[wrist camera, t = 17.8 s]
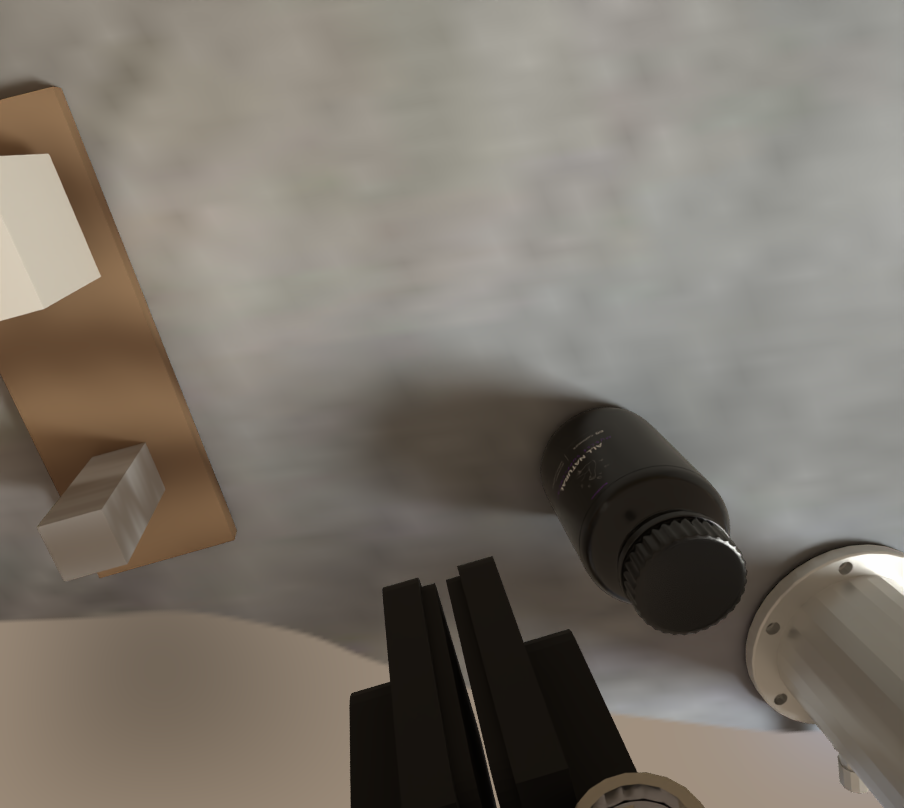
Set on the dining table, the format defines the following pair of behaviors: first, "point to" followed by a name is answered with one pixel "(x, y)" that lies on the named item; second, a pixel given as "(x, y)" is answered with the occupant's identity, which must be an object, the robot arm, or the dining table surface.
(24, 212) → the cream rectangular block
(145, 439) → the post strip
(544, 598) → the dining table surface
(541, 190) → the dining table surface
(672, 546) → the supplement bottle
